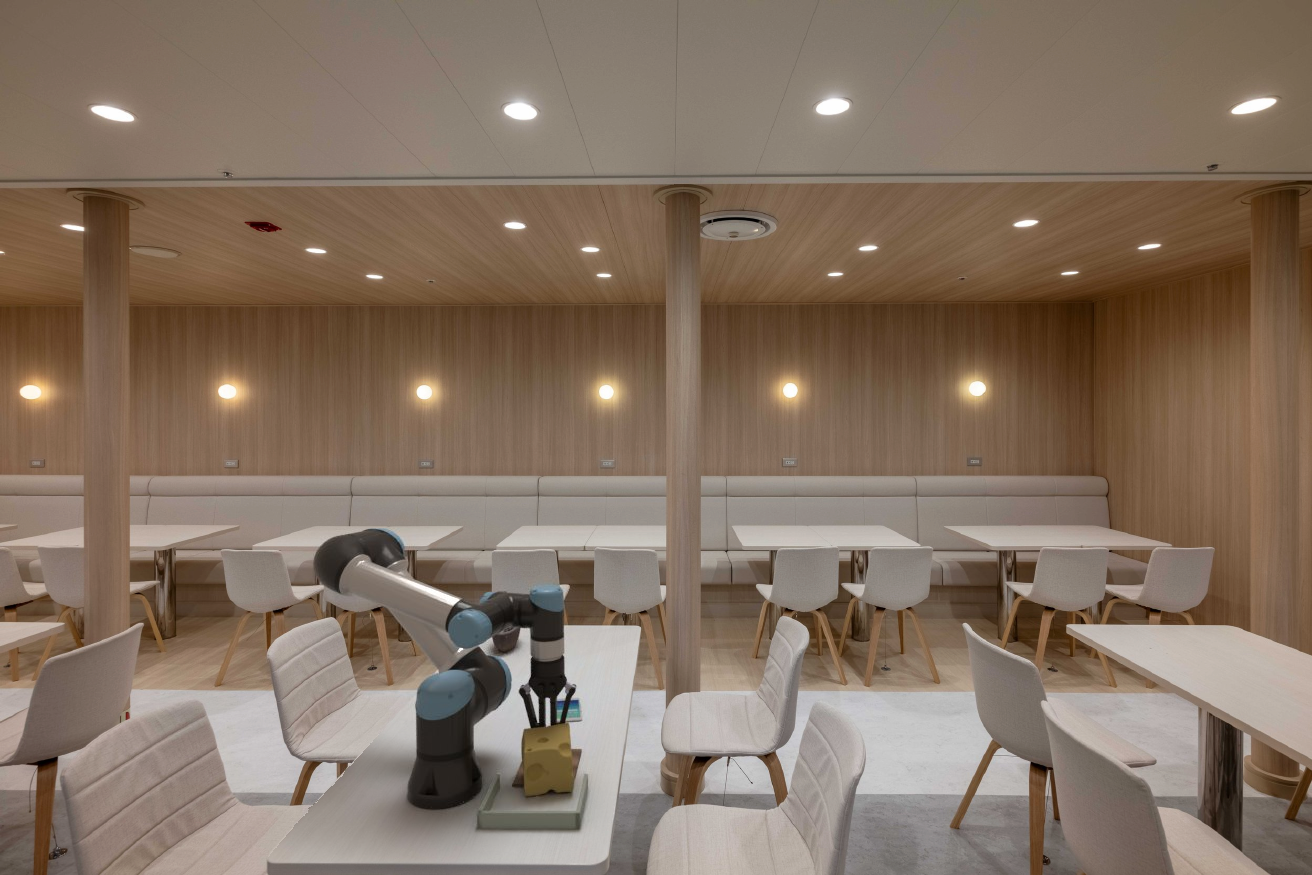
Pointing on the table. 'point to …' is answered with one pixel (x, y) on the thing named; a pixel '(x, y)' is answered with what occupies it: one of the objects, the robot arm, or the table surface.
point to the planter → (506, 638)
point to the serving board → (520, 773)
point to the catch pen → (529, 813)
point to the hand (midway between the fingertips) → (548, 759)
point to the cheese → (547, 759)
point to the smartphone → (570, 710)
